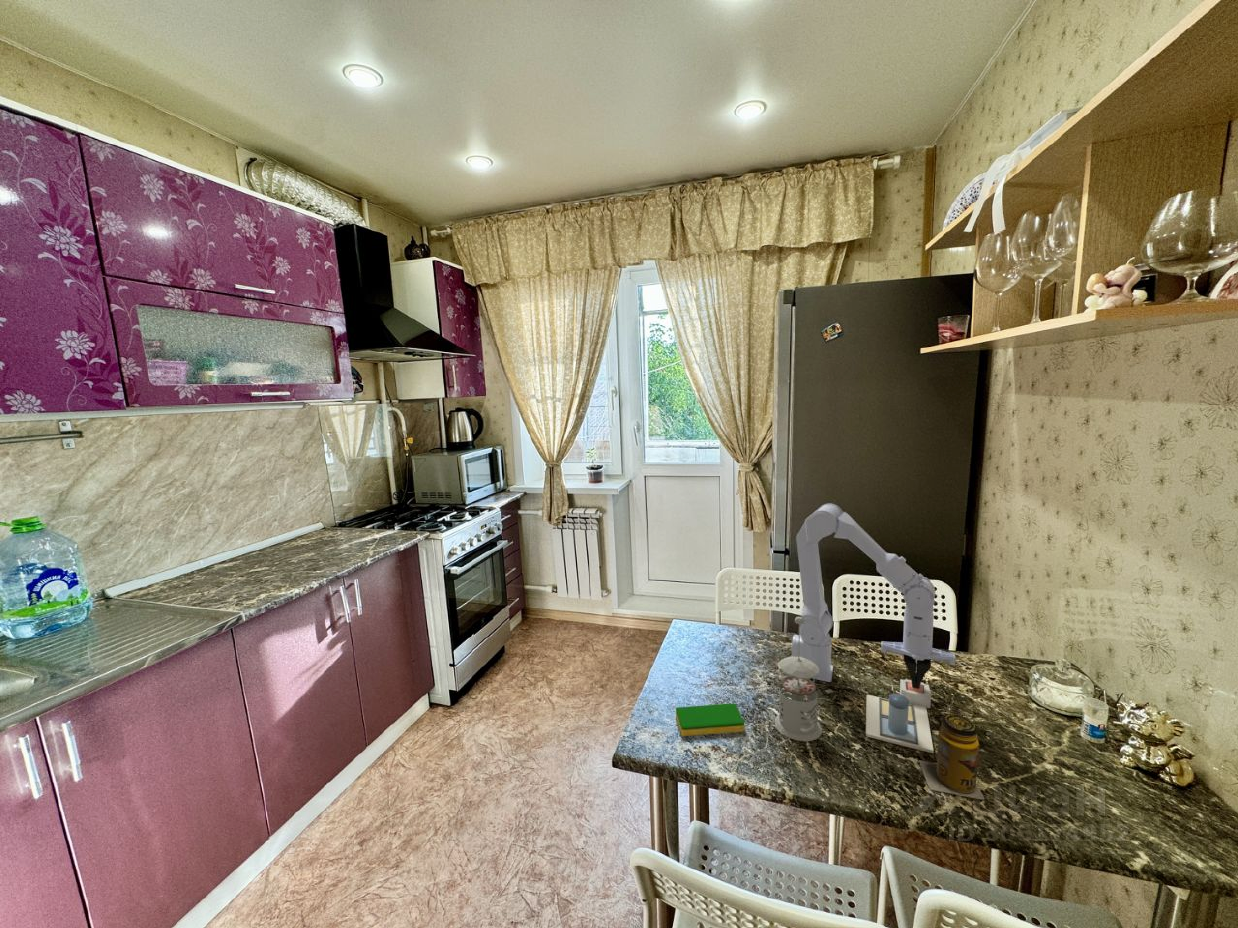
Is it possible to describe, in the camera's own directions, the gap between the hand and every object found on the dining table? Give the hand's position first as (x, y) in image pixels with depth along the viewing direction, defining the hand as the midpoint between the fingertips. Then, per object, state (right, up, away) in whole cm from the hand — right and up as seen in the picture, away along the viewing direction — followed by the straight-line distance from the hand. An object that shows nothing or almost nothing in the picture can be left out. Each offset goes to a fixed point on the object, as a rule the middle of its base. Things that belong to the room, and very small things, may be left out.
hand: (915, 686), depth 113 cm
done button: (0, -4, 0) cm, 4 cm away
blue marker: (-10, -4, -11) cm, 15 cm away
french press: (-29, -5, -7) cm, 31 cm away
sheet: (-9, -5, -7) cm, 12 cm away
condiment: (-8, -7, -23) cm, 26 cm away
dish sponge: (-49, -6, -5) cm, 50 cm away
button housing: (0, -3, 0) cm, 3 cm away
